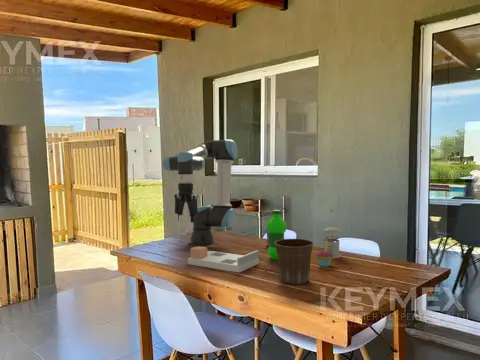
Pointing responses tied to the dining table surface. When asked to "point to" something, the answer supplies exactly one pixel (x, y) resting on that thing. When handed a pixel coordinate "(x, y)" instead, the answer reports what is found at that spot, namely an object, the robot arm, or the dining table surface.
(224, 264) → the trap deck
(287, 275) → the plant pot
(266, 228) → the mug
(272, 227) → the plastic bottle
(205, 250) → the block
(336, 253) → the french press
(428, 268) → the dining table surface
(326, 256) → the cupcake
